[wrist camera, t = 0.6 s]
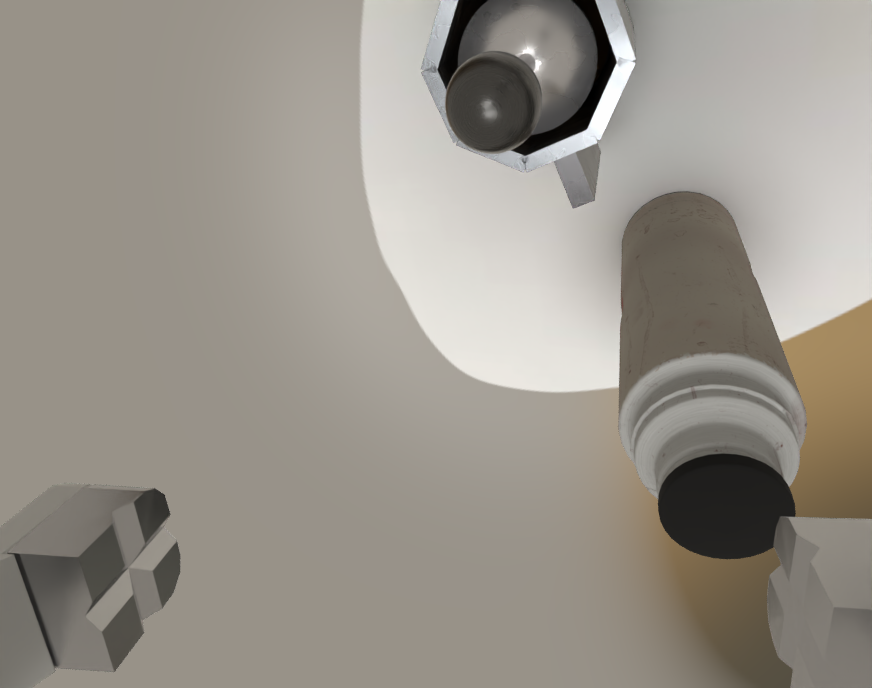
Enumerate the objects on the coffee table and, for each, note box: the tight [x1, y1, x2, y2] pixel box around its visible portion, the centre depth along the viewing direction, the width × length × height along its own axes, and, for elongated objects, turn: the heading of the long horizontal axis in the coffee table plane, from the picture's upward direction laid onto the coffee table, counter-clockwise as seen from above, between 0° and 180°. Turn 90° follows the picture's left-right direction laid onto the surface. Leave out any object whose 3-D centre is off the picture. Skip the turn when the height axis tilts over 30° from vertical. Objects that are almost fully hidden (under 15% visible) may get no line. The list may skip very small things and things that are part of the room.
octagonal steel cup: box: [421, 0, 636, 208], centre depth 39 cm, size 10×13×14 cm
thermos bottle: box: [618, 192, 807, 559], centre depth 38 cm, size 8×8×28 cm
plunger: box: [445, 0, 598, 154], centre depth 29 cm, size 7×7×12 cm
